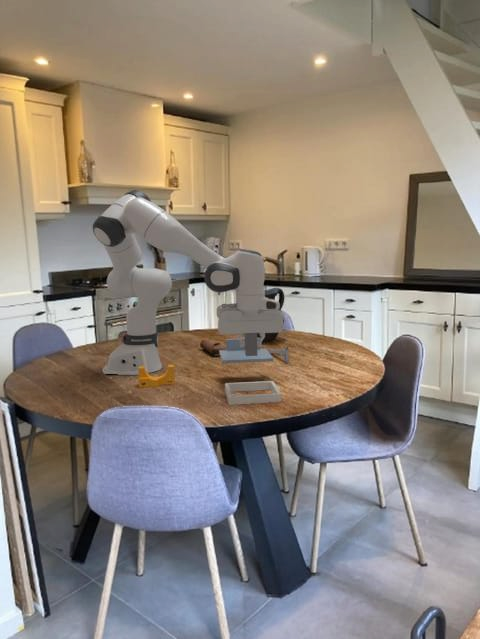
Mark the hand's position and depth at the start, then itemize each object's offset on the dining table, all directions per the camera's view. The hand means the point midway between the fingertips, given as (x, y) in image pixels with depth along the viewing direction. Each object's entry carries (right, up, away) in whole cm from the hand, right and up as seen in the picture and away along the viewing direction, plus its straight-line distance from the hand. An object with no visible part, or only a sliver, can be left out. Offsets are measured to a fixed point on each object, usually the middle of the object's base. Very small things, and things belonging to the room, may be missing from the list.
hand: (250, 347), depth 160 cm
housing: (0, -16, +3) cm, 16 cm away
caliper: (+12, -8, +52) cm, 55 cm away
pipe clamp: (-32, -14, +18) cm, 40 cm away
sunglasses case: (-13, -6, +67) cm, 68 cm away
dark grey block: (0, -2, 0) cm, 2 cm away
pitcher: (+8, -2, +88) cm, 88 cm away
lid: (-2, -4, +18) cm, 19 cm away
